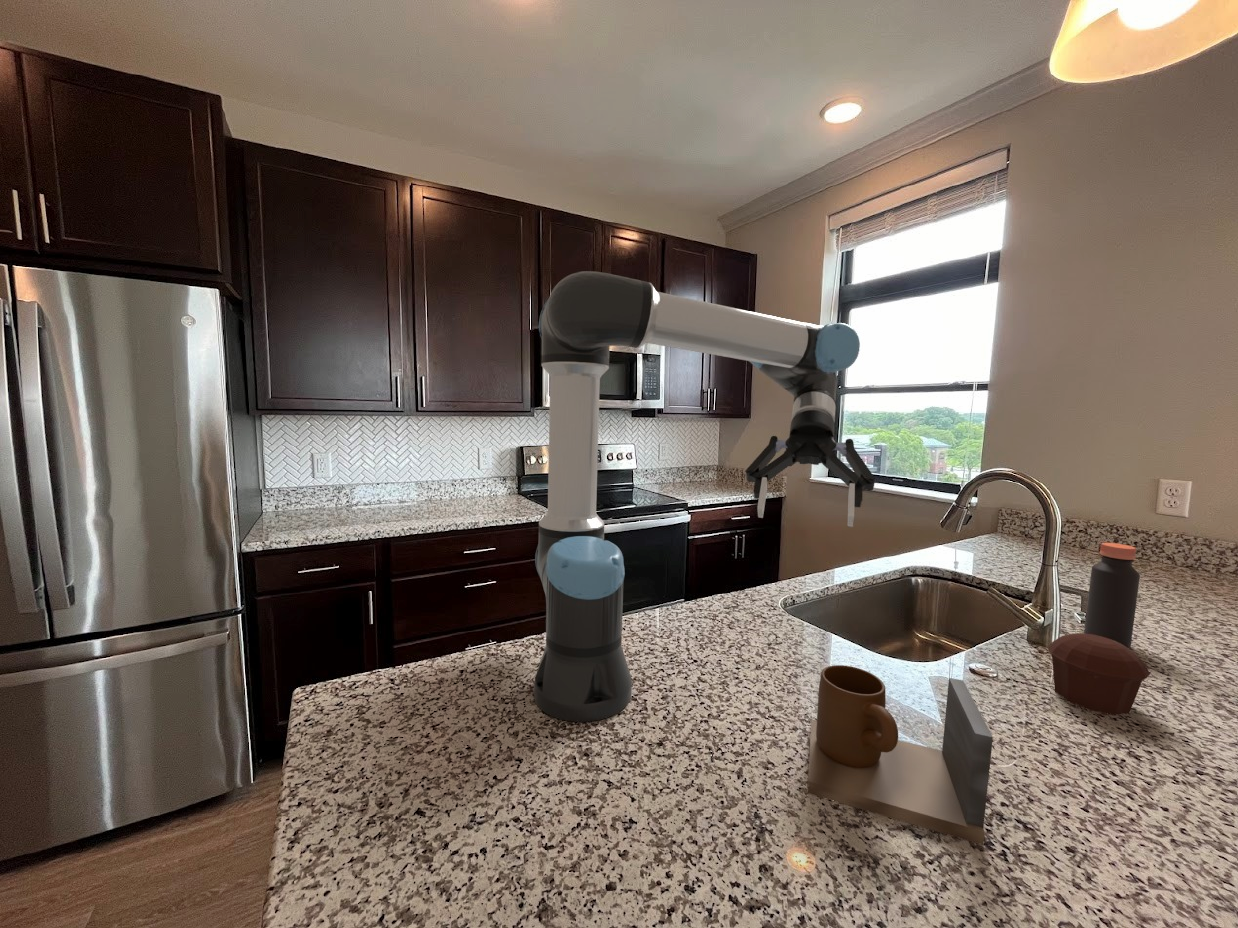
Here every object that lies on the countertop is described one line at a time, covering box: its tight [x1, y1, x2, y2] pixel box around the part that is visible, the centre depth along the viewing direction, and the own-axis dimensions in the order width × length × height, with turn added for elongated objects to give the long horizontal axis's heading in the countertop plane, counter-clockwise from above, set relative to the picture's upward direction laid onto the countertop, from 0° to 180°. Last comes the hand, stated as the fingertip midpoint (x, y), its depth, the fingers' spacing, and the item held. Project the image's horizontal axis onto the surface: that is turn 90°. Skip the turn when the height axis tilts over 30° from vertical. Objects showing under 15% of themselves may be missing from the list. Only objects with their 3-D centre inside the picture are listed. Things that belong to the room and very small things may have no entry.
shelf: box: [807, 677, 994, 846], centre depth 60 cm, size 17×13×12 cm
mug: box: [816, 664, 899, 768], centre depth 60 cm, size 12×8×9 cm, turn 7°
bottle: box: [1083, 542, 1141, 649], centre depth 99 cm, size 7×7×20 cm
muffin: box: [1046, 632, 1151, 717], centre depth 78 cm, size 12×11×10 cm
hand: (803, 517), depth 79 cm, fingers open, 13 cm apart
